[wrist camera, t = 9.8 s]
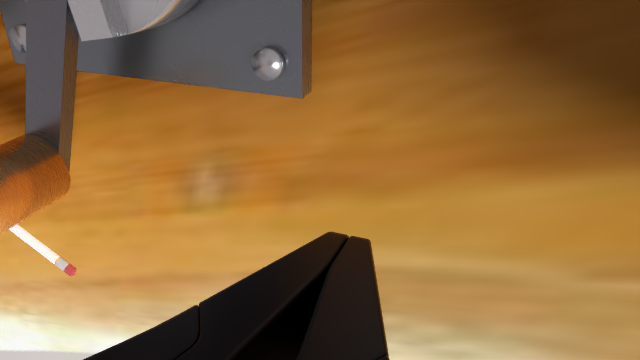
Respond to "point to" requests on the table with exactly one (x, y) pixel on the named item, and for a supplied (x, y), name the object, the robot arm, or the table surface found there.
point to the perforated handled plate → (61, 92)
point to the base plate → (202, 47)
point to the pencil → (43, 250)
